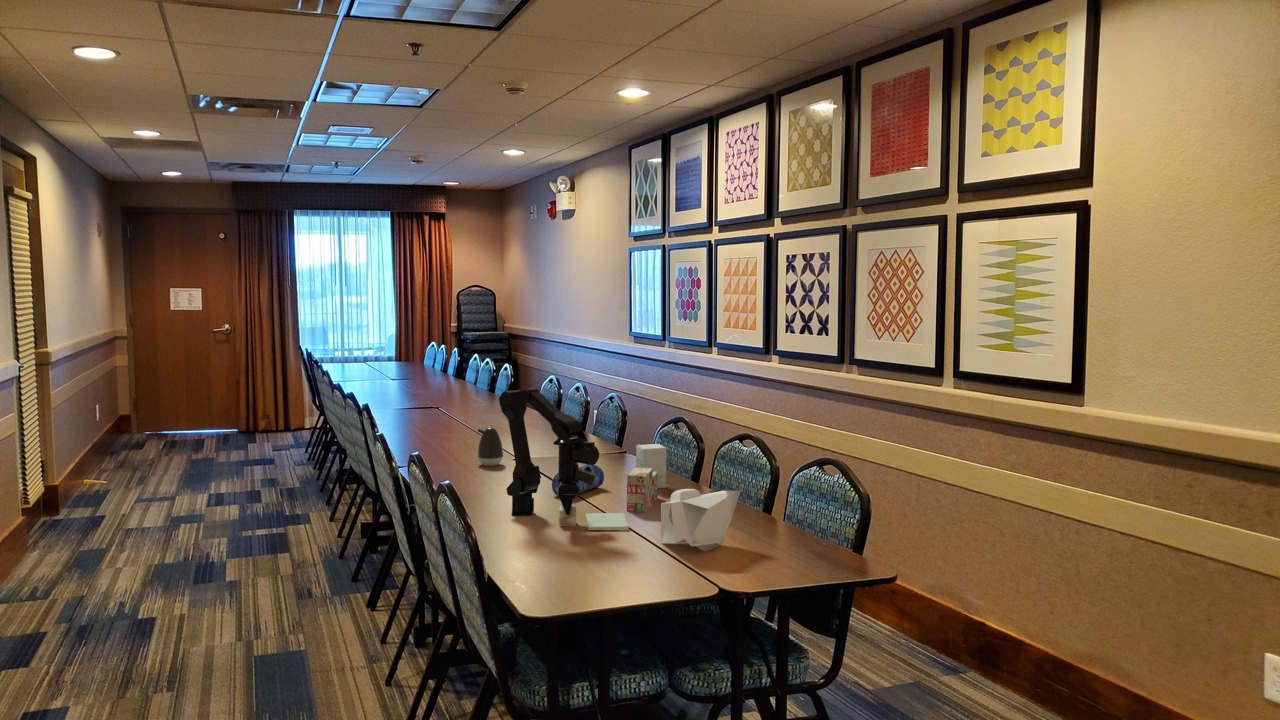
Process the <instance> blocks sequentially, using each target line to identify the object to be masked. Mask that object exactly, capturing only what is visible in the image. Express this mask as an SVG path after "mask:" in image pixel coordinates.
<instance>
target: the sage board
mask: <svg viewBox="0 0 1280 720" xmlns="http://www.w3.org/2000/svg"><path fill="white" fill-rule="evenodd" d="M585 520H587V521H586V526H587V525H588V526H587V530H620V531H629V524H628V521H627V519H626V516H625V513H624V512H613V513H612V512H608V513H606V512H602V513H601V512H600V513H597V512H596V513H592V512H591V513H585Z"/></svg>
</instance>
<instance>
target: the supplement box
mask: <svg viewBox="0 0 1280 720" xmlns="http://www.w3.org/2000/svg"><path fill="white" fill-rule="evenodd" d="M635 448H636V450H635V453H636V454H635V467H637V468H653V472H657V481H658V488H659V489H667V447H666V446H663V445H662V444H659V443H652V444H651V443H650V444H636V447H635Z"/></svg>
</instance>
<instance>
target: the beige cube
mask: <svg viewBox="0 0 1280 720" xmlns="http://www.w3.org/2000/svg"><path fill="white" fill-rule="evenodd" d="M558 525H559V526H565V527H577V507H576V506H574V505H572V507H571V511H570V515H566V513H565V511H564V508H563V506H558Z"/></svg>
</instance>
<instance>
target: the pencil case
mask: <svg viewBox="0 0 1280 720" xmlns="http://www.w3.org/2000/svg"><path fill="white" fill-rule="evenodd" d="M586 466H588V467H591V471H592V472H594V473H595V474H596V477H595V480H594V483H593V485H589V484H588V483H585V482H582V481H578V482H577V484H578V485H579V494H582V493H585V492H587V491H589V490H592V489H595V488H599V487H600V486H603V484H604V482H605V474H604V470H603V469H602V468H601V467H600V466H599V465H598V464H594V465H588V464H583V466H579V468H581V469H582V468H583V469H584V468H585V467H586ZM557 475H558V472H557V473H556V474H555V475H554V476H553V478H552V482H551V489H552V492H553V493H554V495H556V496H557V497H558V496H559V495H558V486H557ZM559 483H560V482H559Z"/></svg>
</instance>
